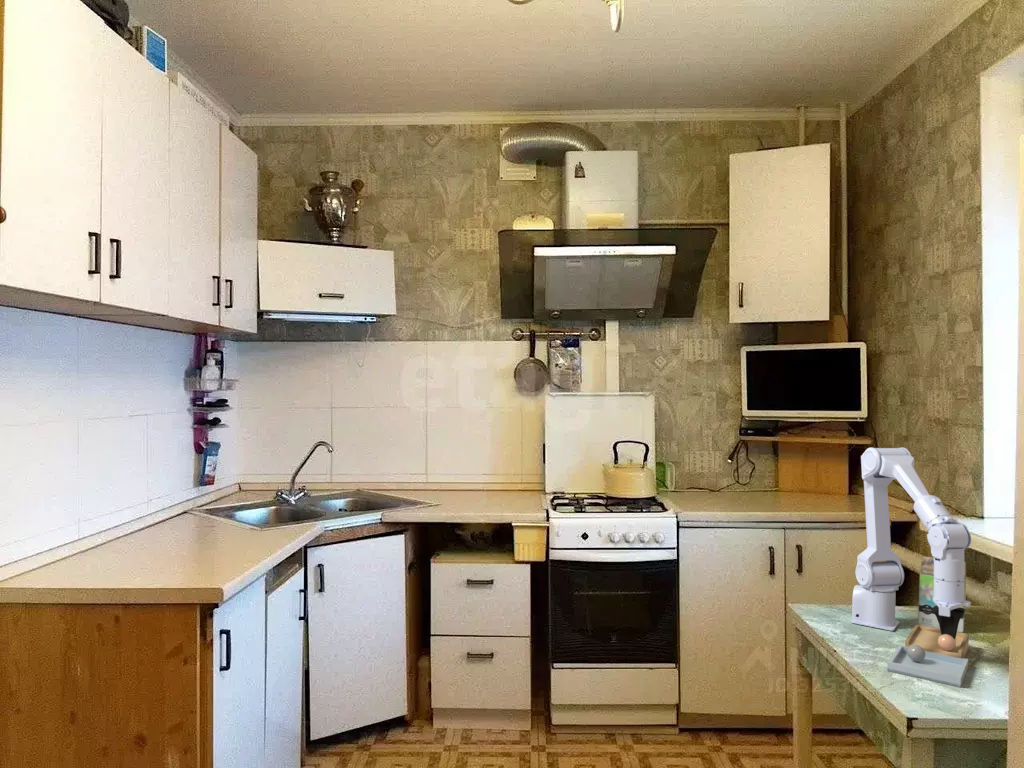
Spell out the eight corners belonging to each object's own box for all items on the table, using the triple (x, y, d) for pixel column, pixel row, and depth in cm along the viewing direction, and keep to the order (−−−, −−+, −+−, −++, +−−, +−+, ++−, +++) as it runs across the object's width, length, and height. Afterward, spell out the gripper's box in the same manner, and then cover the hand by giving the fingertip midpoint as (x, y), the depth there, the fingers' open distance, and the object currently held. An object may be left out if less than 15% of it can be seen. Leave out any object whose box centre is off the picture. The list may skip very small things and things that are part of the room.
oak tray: (905, 655, 161) (905, 640, 161) (916, 637, 172) (916, 624, 172) (960, 666, 155) (961, 651, 155) (968, 648, 166) (968, 634, 166)
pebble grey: (907, 663, 157) (904, 653, 156) (910, 650, 159) (907, 640, 158) (925, 666, 155) (922, 656, 153) (928, 653, 157) (925, 643, 155)
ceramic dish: (887, 670, 152) (887, 662, 152) (899, 652, 162) (899, 644, 162) (960, 687, 144) (960, 678, 144) (968, 667, 154) (968, 659, 154)
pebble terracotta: (938, 631, 160) (938, 647, 160) (936, 635, 158) (937, 651, 157) (956, 633, 158) (957, 649, 158) (954, 637, 156) (955, 653, 155)
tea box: (965, 634, 176) (966, 572, 175) (917, 626, 181) (918, 566, 181) (965, 617, 188) (966, 559, 188) (920, 610, 194) (921, 554, 194)
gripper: (966, 589, 151) (966, 655, 151) (973, 575, 162) (973, 636, 162) (927, 583, 155) (927, 647, 155) (937, 570, 166) (937, 630, 166)
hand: (948, 641), depth 159 cm, fingers closed, pressing on pebble terracotta
